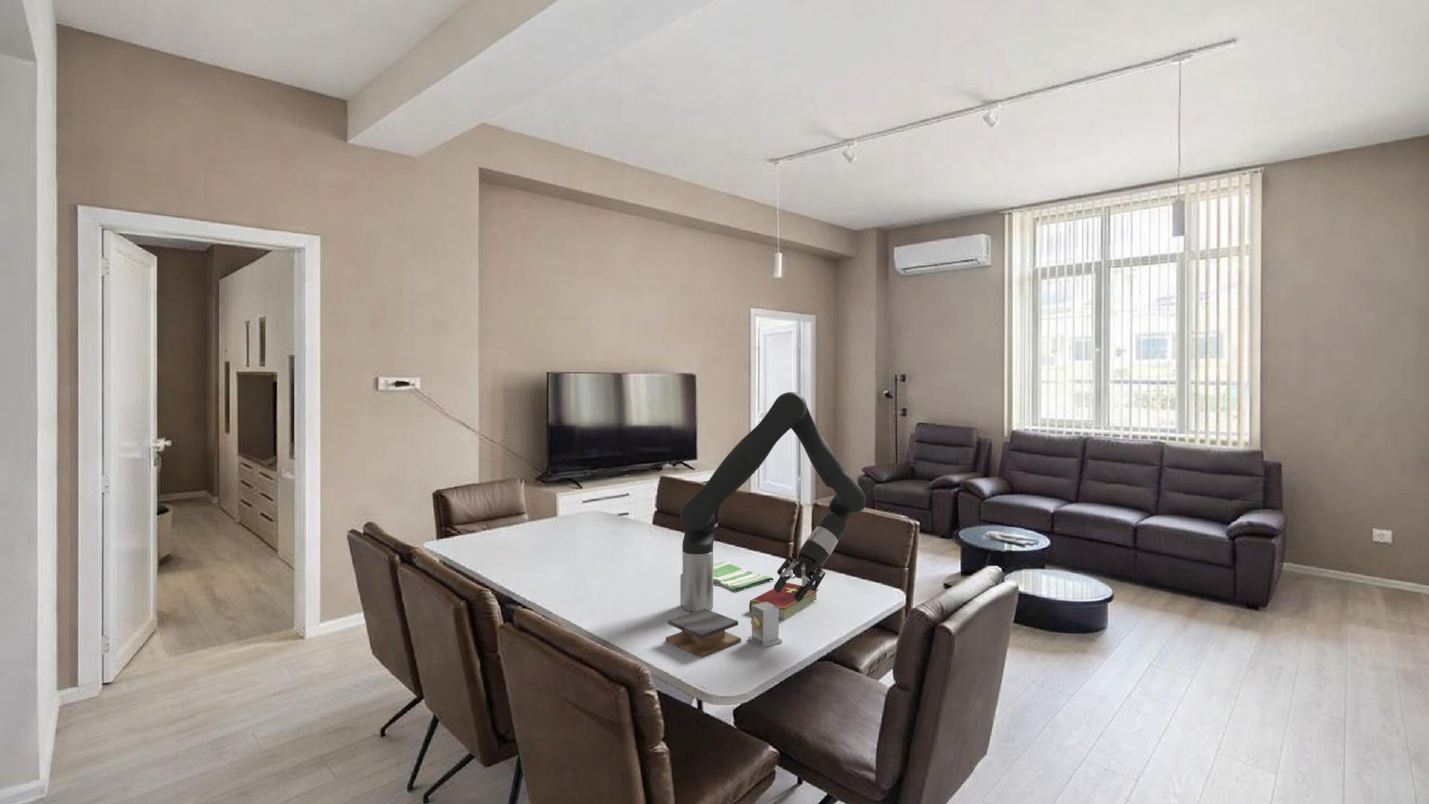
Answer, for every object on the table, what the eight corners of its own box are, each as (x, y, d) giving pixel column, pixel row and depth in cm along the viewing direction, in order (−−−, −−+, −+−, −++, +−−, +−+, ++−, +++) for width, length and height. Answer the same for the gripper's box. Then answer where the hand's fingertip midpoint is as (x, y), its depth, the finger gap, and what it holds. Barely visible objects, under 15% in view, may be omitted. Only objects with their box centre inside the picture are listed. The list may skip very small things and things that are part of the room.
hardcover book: (749, 613, 196) (749, 599, 195) (784, 593, 212) (784, 581, 212) (784, 622, 188) (784, 607, 188) (818, 601, 205) (818, 588, 205)
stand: (665, 640, 174) (665, 620, 174) (704, 626, 184) (704, 607, 183) (701, 657, 164) (701, 635, 164) (740, 641, 173) (740, 621, 173)
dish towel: (736, 594, 213) (736, 585, 212) (689, 577, 230) (689, 569, 230) (773, 582, 225) (773, 574, 225) (726, 567, 242) (726, 559, 242)
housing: (747, 640, 175) (747, 605, 174) (767, 634, 178) (767, 600, 178) (761, 648, 169) (761, 612, 169) (782, 642, 173) (782, 607, 172)
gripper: (794, 533, 187) (761, 580, 182) (828, 544, 175) (795, 595, 170) (808, 549, 190) (777, 595, 185) (843, 561, 178) (810, 611, 173)
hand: (785, 595), depth 177 cm, fingers open, 8 cm apart
